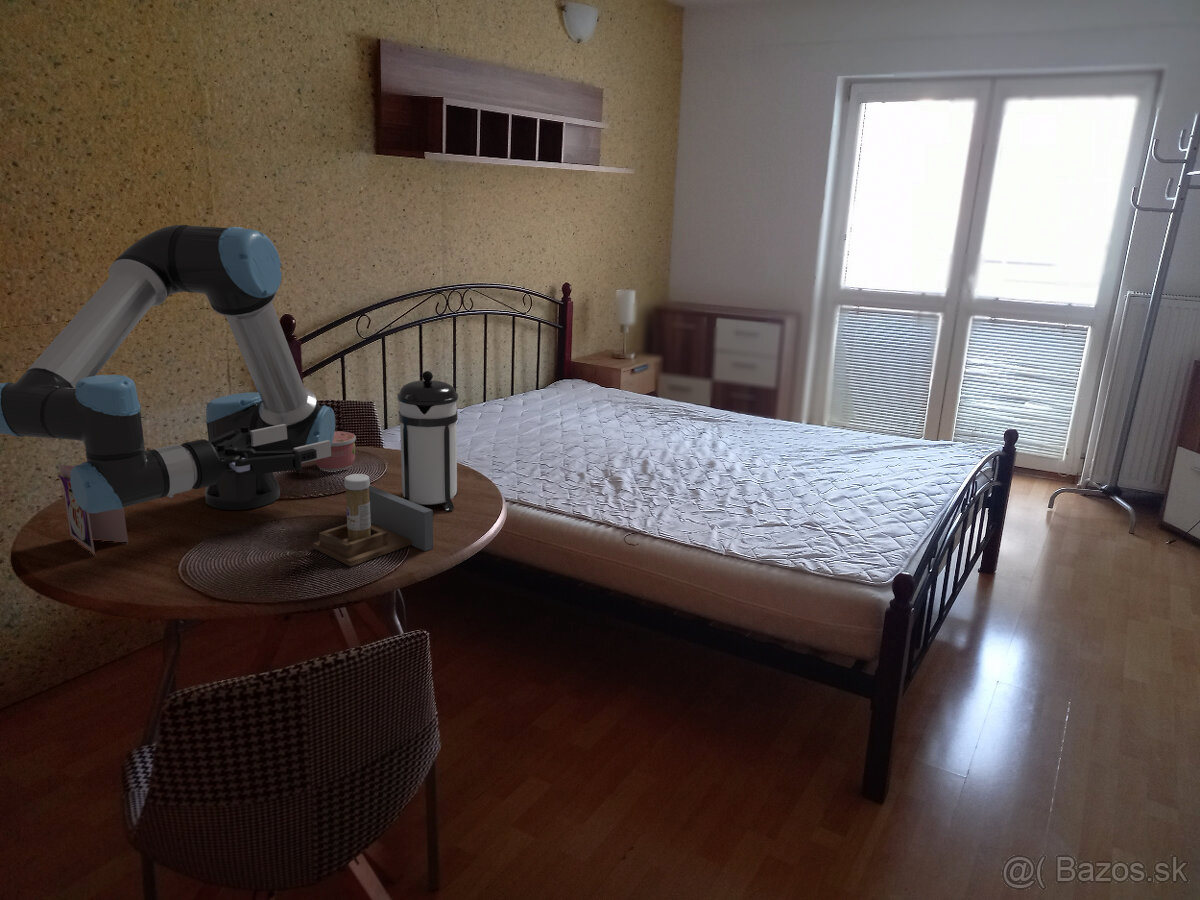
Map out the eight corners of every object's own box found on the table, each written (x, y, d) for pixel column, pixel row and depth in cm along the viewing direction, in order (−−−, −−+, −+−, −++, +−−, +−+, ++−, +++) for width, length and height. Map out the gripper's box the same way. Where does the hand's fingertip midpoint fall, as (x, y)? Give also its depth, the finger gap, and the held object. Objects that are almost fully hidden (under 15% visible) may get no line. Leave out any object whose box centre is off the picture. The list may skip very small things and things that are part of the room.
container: (333, 477, 198) (331, 445, 196) (303, 468, 204) (301, 437, 201) (366, 466, 207) (364, 436, 205) (337, 458, 212) (335, 428, 210)
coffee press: (480, 503, 186) (480, 372, 177) (420, 520, 175) (417, 381, 166) (436, 483, 197) (434, 359, 189) (377, 497, 186) (372, 367, 178)
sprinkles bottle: (342, 542, 159) (339, 476, 155) (363, 536, 163) (360, 471, 159) (356, 549, 157) (353, 482, 153) (376, 542, 160) (374, 477, 156)
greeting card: (66, 540, 158) (54, 465, 154) (108, 529, 163) (97, 457, 159) (89, 557, 151) (78, 480, 147) (132, 546, 157) (123, 471, 152)
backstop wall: (425, 551, 160) (424, 512, 158) (362, 523, 172) (360, 487, 169) (433, 548, 161) (432, 510, 159) (370, 521, 173) (369, 485, 171)
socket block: (350, 566, 152) (349, 549, 151) (313, 547, 159) (312, 531, 158) (411, 544, 162) (411, 528, 161) (373, 528, 169) (373, 512, 168)
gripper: (152, 470, 138) (270, 444, 154) (229, 510, 123) (350, 476, 139) (147, 427, 136) (267, 405, 152) (224, 462, 121) (348, 434, 137)
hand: (307, 439), depth 146 cm, fingers open, 13 cm apart
